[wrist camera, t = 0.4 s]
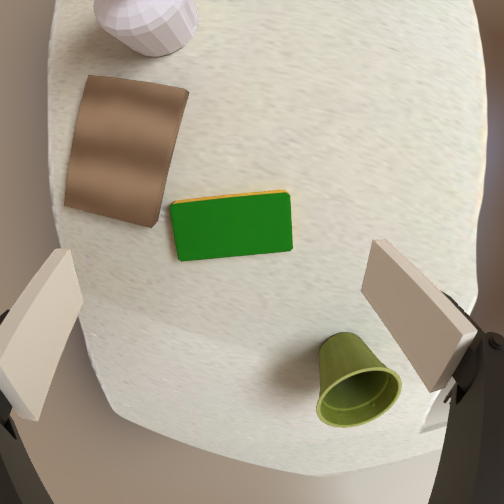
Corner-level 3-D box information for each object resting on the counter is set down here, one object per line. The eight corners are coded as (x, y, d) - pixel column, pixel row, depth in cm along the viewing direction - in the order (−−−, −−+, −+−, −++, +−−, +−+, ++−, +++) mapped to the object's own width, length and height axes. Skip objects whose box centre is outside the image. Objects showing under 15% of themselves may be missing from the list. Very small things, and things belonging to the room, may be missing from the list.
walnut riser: (98, 78, 31) (88, 75, 28) (189, 92, 32) (185, 88, 29) (74, 199, 36) (64, 205, 33) (157, 220, 38) (151, 228, 35)
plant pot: (359, 304, 43) (388, 352, 33) (383, 353, 47) (409, 400, 37) (288, 344, 45) (300, 399, 35) (322, 386, 49) (336, 437, 39)
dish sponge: (172, 200, 37) (168, 204, 35) (287, 188, 37) (290, 192, 35) (181, 254, 40) (178, 262, 38) (289, 244, 40) (293, 251, 38)
